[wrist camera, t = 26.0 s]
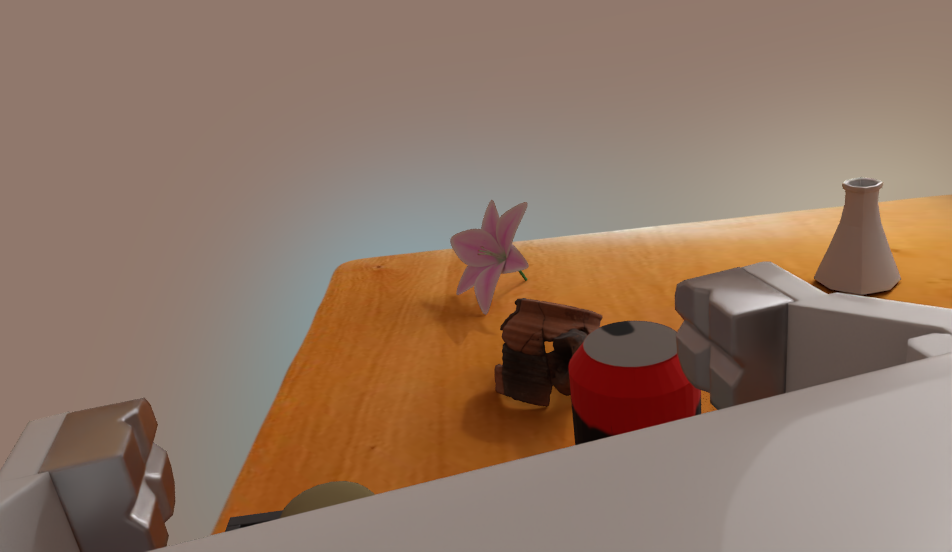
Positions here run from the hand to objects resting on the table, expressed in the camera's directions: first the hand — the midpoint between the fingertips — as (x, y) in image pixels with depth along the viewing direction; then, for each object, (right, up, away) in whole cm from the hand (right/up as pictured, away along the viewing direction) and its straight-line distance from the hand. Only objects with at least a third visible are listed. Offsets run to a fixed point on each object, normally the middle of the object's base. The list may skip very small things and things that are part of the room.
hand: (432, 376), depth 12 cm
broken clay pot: (+8, -8, +54) cm, 55 cm away
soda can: (+11, -14, +38) cm, 42 cm away
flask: (+38, +1, +64) cm, 74 cm away
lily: (+3, 0, +73) cm, 73 cm away
